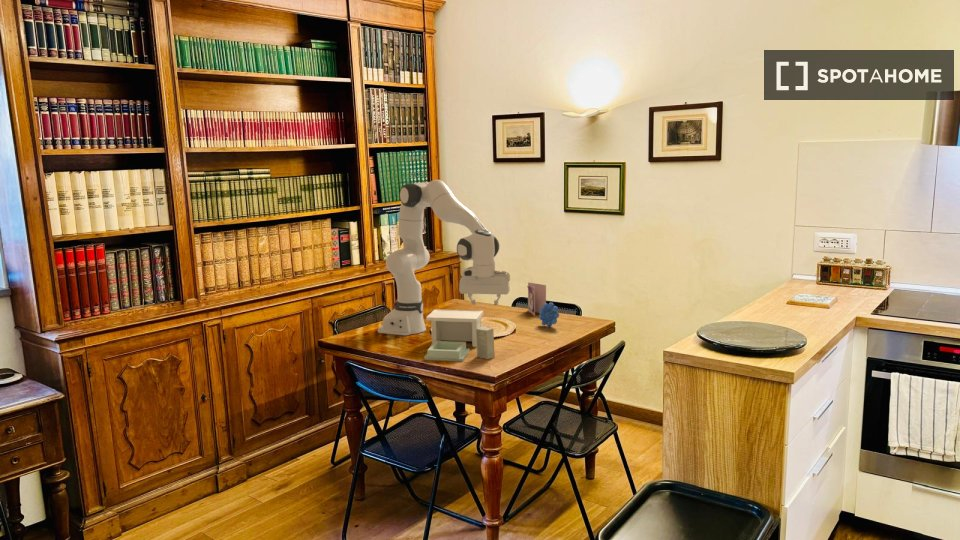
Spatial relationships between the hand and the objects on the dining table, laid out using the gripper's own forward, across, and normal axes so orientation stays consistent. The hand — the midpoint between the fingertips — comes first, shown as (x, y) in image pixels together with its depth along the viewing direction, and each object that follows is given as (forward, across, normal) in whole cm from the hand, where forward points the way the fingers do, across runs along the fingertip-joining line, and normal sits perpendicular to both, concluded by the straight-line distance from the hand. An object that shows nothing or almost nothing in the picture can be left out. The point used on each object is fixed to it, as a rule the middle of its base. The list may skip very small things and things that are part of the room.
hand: (484, 304), depth 276 cm
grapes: (+22, -22, -50) cm, 59 cm away
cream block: (+22, +16, -16) cm, 32 cm away
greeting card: (+22, -13, -75) cm, 79 cm away
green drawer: (+22, +16, 0) cm, 27 cm away
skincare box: (+22, 0, 0) cm, 22 cm away
